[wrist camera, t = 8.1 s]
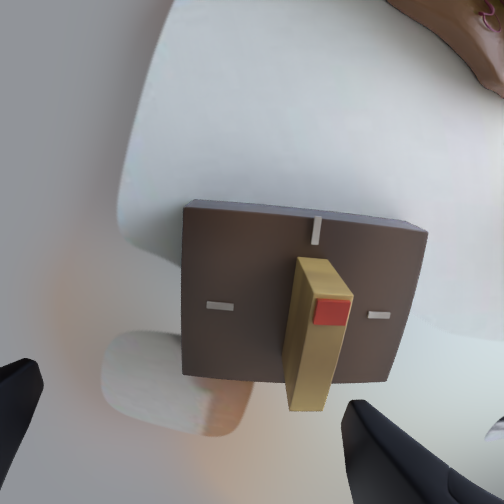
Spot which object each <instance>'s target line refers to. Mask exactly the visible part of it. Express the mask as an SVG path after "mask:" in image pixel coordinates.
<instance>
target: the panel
mask: <svg viewBox="0 0 504 504" xmlns="http://www.w3.org/2000/svg"><path fill="white" fill-rule="evenodd" d="M427 238H428V231H426V230H423V229H421V228H419V227H417V226H415V225H413V224H411V223H408V222H406V221H401V220H394V219H386V218H379V217H371V216H363V215H355V214H347V213H339V212H330V211H321V210H312V209H303V208H293V207H283V206H272V205H262V204H250V203H238V202H226V201H212V200H198V199H194V200H193V201H191V202H190V203H189V204H187V205H186V206H184V208H183V229H182V263H181V345H182V374H183V375H188V376H197V377H206V378H216V379H227V380H239V381H254V382H273V383H274V382H275V383H285V378H284V371H283V364H282V351H283V345H284V339H285V333H286V327H287V321H288V314H289V308H290V302H291V295H292V288H293V282H294V275H295V268H296V261H297V257H306V258H317V259H327V260H328V261H329V262H330V263H331V265H332V266H333V267H334V269H335V270H336V272H337V273H338V274H339V276H340V277H341V278H342V280H343V281H344V283H345V284H346V285H347V287H348V288H349V289H350V291H351V292H352V294H353V295H354V297H353V301H352V306H351V310H350V314H349V319H348V323H347V327H346V331H345V335H344V339H343V343H342V346H341V350H340V354H339V358H338V361H337V365H336V368H335V372H334V375H333V379H332V382H331V384H333V383H368V382H385V381H387V378H388V375H389V373H390V370H391V368H392V365H393V362H394V359H395V356H396V353H397V350H398V347H399V344H400V341H401V338H402V335H403V332H404V329H405V325H406V322H407V319H408V316H409V312H410V309H411V305H412V302H413V298H414V294H415V290H416V287H417V283H418V279H419V275H420V270H421V266H422V262H423V257H424V252H425V248H426V243H427Z"/></svg>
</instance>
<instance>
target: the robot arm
mask: <svg viewBox="0 0 504 504" xmlns="http://www.w3.org/2000/svg"><path fill="white" fill-rule="evenodd" d="M43 386H44V384H43V379H42V376H41V373H40V370H39V367H38V364H37V362H36V361H34V360H31V359H28V358H23V359H21V360H18V361H16V362H13V363H10V364H8V365H5V366H3V367H0V490H1V487H2V485H3V482H4V480H5V477H6V475H7V473H8V470H9V468H10V466H11V463H12V461H13V459H14V457H15V454H16V452H17V450H18V448H19V446H20V444H21V442H22V440H23V437H24V435H25V433H26V431H27V429H28V427H29V424H30V422H31V419H32V417H33V414H34V411H35V408H36V406H37V403H38V401H39V398H40V395H41V393H42V391H43ZM341 431H342V439H343V447H344V456H345V465H346V473H347V478H348V482H349V486H350V490H351V495H352V499H353V503H354V504H504V500H502V499H500V498H498V497H496V496H495V495H493V494H491V493H489V492H487V491H486V490H484V489H482V488H481V487H479V486H477V485H476V484H474V483H472V482H471V481H469V480H468V479H466V478H465V477H464V476H462V475H461V474H459V473H458V472H457V471H455V470H454V469H453V468H449V466H448V465H447V464H446V463H444V462H443V461H442V460H440V459H439V458H438V457H437V456H435V455H434V454H432V453H431V452H430V451H429V450H427V449H426V448H425V447H423V446H422V445H421V444H420V443H418V442H417V441H415V440H414V439H413V438H412V437H410V436H409V435H408V434H407V433H405V432H404V431H403V430H402V429H400V428H399V427H398V426H397V425H395V424H394V423H393V422H392V421H390V420H389V419H388V418H387V417H385V416H384V415H383V414H382V413H380V412H379V411H378V410H377V409H375V408H374V407H373V406H372V405H371V404H369V403H368V402H367V401H365V400H351V401H350V402H349V403H348V406H347V408H346V411H345V413H344V416H343V419H342V422H341Z"/></svg>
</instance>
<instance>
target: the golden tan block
mask: <svg viewBox="0 0 504 504" xmlns="http://www.w3.org/2000/svg"><path fill="white" fill-rule="evenodd" d="M353 297H354V295H353V294H352V292H351V291H350V289H349V288H348V287H347V285H346V284H345V283H344V281H343V280H342V278H341V277H340V276H339V274H338V273H337V272H336V270H335V269H334V267H333V266H332V265H331V263H330V262H329V261H328V260H327V259H317V258H306V257H297V261H296V268H295V275H294V282H293V288H292V295H291V302H290V308H289V314H288V321H287V327H286V333H285V339H284V345H283V351H282V364H283V371H284V378H285V385H286V392H287V399H288V406H289V411H323V408H324V405H325V402H326V399H327V396H328V392H329V389H330V386H331V382H332V379H333V375H334V372H335V368H336V365H337V361H338V358H339V354H340V350H341V346H342V343H343V339H344V335H345V331H346V327H347V323H348V319H349V314H350V310H351V306H352V301H353Z"/></svg>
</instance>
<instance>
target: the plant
mask: <svg viewBox="0 0 504 504" xmlns="http://www.w3.org/2000/svg"><path fill="white" fill-rule="evenodd" d="M386 1H387V2H389V3H390V4H391V5H392V6H394V7H395V8H397V9H398V10H399V11H401V12H402V13H404V14H405V15H407V16H409V17H410V18H412V19H413V20H415V21H417V22H418V23H420V24H422V25H423V26H425V27H427V28H428V29H430V30H431V31H433V32H434V33H435V34H437V35H438V36H439V37H440V38H441V39H443V40H444V41H445V42H446V43H447V44H448V45H449V46H450V47H451V48H452V49H453V50H454V51H455V52H456V53H457V54H458V55H459V56H460V57H461V58H462V59H463V60H464V61H465V62H466V63H467V64H468V66H469V67H470V68H471V69H472V71H473V72H474V74H475V75H476V77H477V79H478V80H479V82H480V83H481V85H483V86H484V87H485V88H486V89H488V90H492V91H494V92H496V93H497V94H498V95H499V96H501V97H503V98H504V0H386Z"/></svg>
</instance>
